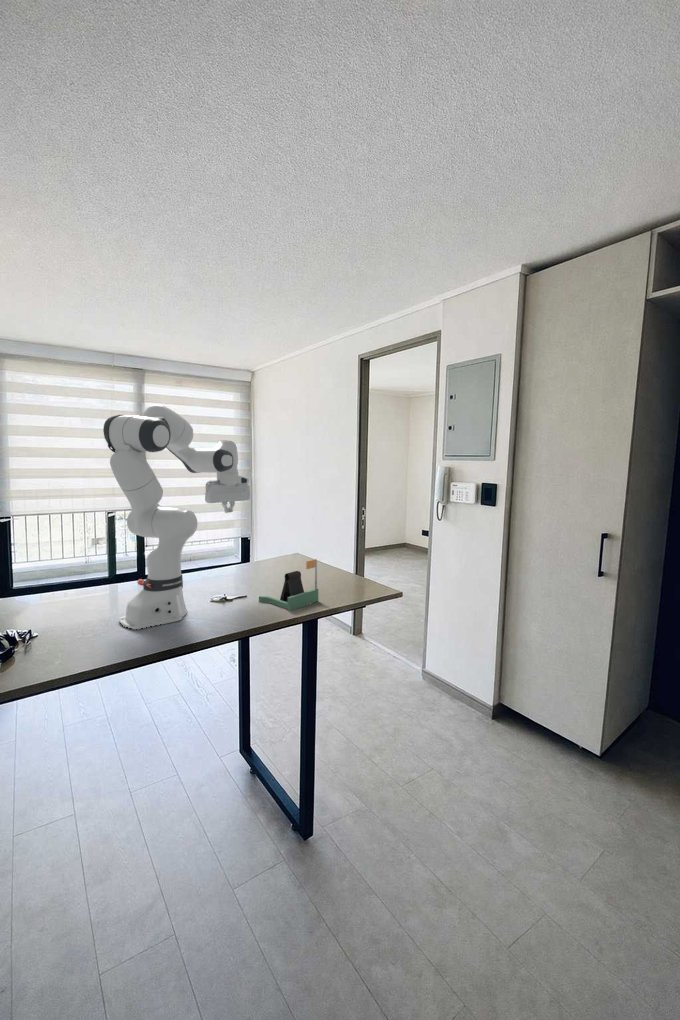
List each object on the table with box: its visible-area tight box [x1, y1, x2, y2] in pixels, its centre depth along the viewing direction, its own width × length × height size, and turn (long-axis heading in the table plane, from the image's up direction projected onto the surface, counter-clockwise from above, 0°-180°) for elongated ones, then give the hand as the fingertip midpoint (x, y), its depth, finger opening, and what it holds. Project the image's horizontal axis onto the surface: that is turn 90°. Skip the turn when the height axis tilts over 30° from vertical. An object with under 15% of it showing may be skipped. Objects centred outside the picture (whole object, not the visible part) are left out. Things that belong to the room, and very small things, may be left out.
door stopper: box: [279, 570, 305, 602], centre depth 175 cm, size 9×6×12 cm, turn 48°
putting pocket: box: [258, 558, 319, 612], centre depth 175 cm, size 17×18×17 cm
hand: (228, 512), depth 189 cm, fingers closed
